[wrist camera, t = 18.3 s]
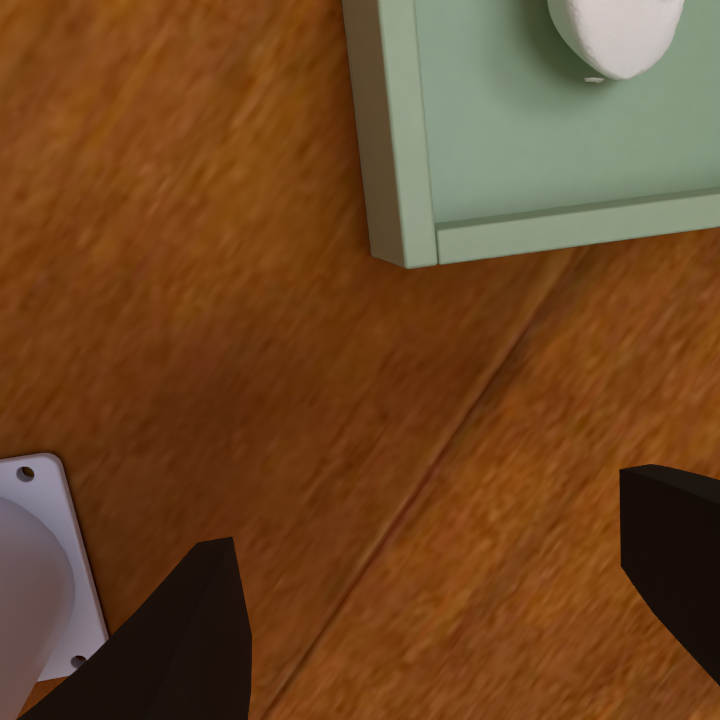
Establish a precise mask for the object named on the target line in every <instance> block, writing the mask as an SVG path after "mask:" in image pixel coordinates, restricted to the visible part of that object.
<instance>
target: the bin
mask: <svg viewBox="0 0 720 720" xmlns="http://www.w3.org/2000/svg"><path fill="white" fill-rule="evenodd" d="M342 8H343V16H344V25H345V33H346V42H347V50H348V59H349V68H350V76H351V85H352V93H353V102H354V111H355V119H356V128H357V136H358V145H359V154H360V162H361V171H362V179H363V188H364V196H365V205H366V214H367V222H368V231H369V239H370V248H371V255H372V257H376V258H379V259H382V260H384V261H387V262H390V263H392V264H395V265H398V266H400V267H403V268H406V269H414V268H422V267H429V266H435V265H436V264H440V265H445V264H452V263H459V262H467V261H474V260H482V259H489V258H496V257H504V256H511V255H518V254H526V253H533V252H540V251H548V250H555V249H562V248H570V247H577V246H584V245H592V244H599V243H606V242H614V241H621V240H628V239H636V238H643V237H650V236H658V235H665V234H672V233H680V232H687V231H694V230H702V229H709V228H717V227H720V0H685V1H684V3H683V10H682V13H681V16H680V19H679V22H678V24H677V26H676V29H675V34H674V37H673V40H672V42H671V44H670V46H669V48H668V49H667V51H666V52H665V53H664V54H663V56H662V58H661V59H660V60H659V61H658V62H657V63H655V64H654V65H653V66H652V67H651V68H650V69H649V70H648V71H646V72H645V73H643V74H641V75H639V76H636V77H634V78H631V79H630V80H627V81H616V80H613V79H610V78H607V77H605V76H603V75H602V74H600V73H599V72H598V71H596V70H595V69H594V68H592V67H591V66H590V65H589V64H587V63H586V62H585V61H584V60H582V59H581V58H580V57H579V56H578V55H577V54H576V53H575V52H574V51H573V50H572V49H571V48H570V47H569V46H568V45H567V43H566V42H565V41H564V39H563V38H562V37H561V35H560V34H559V32H558V31H557V29H556V27H555V25H554V23H553V20H552V18H551V16H550V12H549V8H548V3H547V0H342ZM584 78H601V79H604V80H603V81H601V82H599V83H596V82H586V81H585V80H586V79H584Z"/></svg>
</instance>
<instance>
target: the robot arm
mask: <svg viewBox="0 0 720 720" xmlns="http://www.w3.org/2000/svg"><path fill="white" fill-rule="evenodd" d="M22 467H29V468H31V469H32V470H33V472H34V477H28V476H26V475H25V474H24V473H23V471H22ZM619 473H620V537H621V567H622V568H623V570H624V571H625V573H626V574H627V576H628V577H629V579H630V580H631V582H632V583H633V585H634V586H635V588H636V589H637V591H638V592H639V594H640V595H641V596H642V598H643V599H644V601H645V602H646V603H647V605H648V606H649V607H650V609H651V610H652V612H653V613H654V614H655V615H656V616H657V617H658V619H659V620H660V621H661V622H662V623H663V624H664V625H665V627H666V628H667V629H668V630H669V631H670V632H671V633H672V634H673V635H674V637H675V638H676V639H677V640H678V641H679V642H680V643H681V644H682V645H683V647H684V648H685V649H686V650H687V651H688V652H689V653H690V654H691V655H692V656H693V657H694V659H695V660H696V661H697V662H698V663H699V664H700V665H701V666H702V667H703V668H704V669H705V671H706V672H707V673H708V674H709V675H710V676H711V677H712V678H713V679H714V680H715V681H716V683H717V684H718V685H719V686H720V480H717V479H713V478H710V477H706V476H702V475H699V474H695V473H691V472H687V471H683V470H679V469H675V468H670V467H665V466H660V465H653V464H648V465H642V466H637V467H631V468H625V469H619ZM77 655H80V656H83V657H85V658H86V660H79V659H77V658H76V656H77ZM251 670H252V634H251V629H250V624H249V619H248V614H247V609H246V604H245V599H244V594H243V588H242V583H241V578H240V573H239V568H238V563H237V558H236V553H235V548H234V543H233V538H232V537H227V538H221V539H215V540H210V541H204V542H198V543H197V544H196V545H195V546H194V547H193V548H192V549H191V550H190V551H189V552H188V553H187V554H186V555H185V557H184V558H183V559H182V560H181V561H180V562H179V564H178V565H177V566H176V567H175V568H174V569H173V570H172V572H171V573H170V574H169V575H168V576H167V577H166V579H165V580H164V581H163V582H162V583H161V584H160V585H159V586H158V587H157V589H156V590H155V591H154V592H153V593H152V594H151V595H150V596H149V597H148V599H147V600H146V601H145V602H144V603H143V604H142V605H141V606H140V607H139V609H138V610H137V611H136V612H135V613H134V614H133V615H132V616H131V617H130V618H129V619H128V620H127V621H126V622H125V623H124V624H123V625H122V626H121V627H120V628H119V629H118V630H117V631H116V632H115V633H114V634H113V635H112V636H111V637H110V638H109V637H108V633H107V630H106V626H105V622H104V618H103V615H102V611H101V607H100V603H99V600H98V596H97V592H96V588H95V585H94V581H93V577H92V573H91V570H90V566H89V562H88V558H87V555H86V551H85V547H84V543H83V540H82V536H81V532H80V528H79V525H78V521H77V517H76V513H75V510H74V506H73V502H72V499H71V495H70V491H69V487H68V484H67V480H66V476H65V472H64V469H63V465H62V463H61V461H60V459H59V458H58V457H56V456H55V455H53V454H50V453H38V454H32V455H25V456H19V457H12V458H6V459H0V720H16V718H17V716H18V715H19V713H20V711H21V709H22V707H23V706H24V704H25V702H26V700H27V698H28V696H29V695H30V693H31V691H32V689H33V687H34V685H35V684H36V682H39V681H44V680H49V679H55V678H60V677H65V676H69V677H68V678H67V679H66V680H64V681H63V682H62V683H61V684H60V685H58V686H57V687H56V688H55V689H54V690H53V691H51V692H50V693H49V694H48V695H47V696H45V697H44V698H43V699H42V700H41V701H39V702H38V703H37V704H36V705H35V706H33V707H32V708H31V709H30V710H28V711H27V712H26V713H25V714H23V715H22V716H21V717H20V718H18V719H17V720H247V719H248V712H249V704H250V696H251Z"/></svg>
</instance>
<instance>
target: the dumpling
mask: <svg viewBox="0 0 720 720" xmlns="http://www.w3.org/2000/svg"><path fill="white" fill-rule="evenodd" d="M684 1H685V0H547V3H548V8H549V12H550V16H551V18H552V20H553V23H554V25H555V27H556V29H557V31H558V32H559V34H560V35H561V37H562V38H563V39H564V41H565V42H566V43H567V45H568V46H569V47H570V48H571V49H572V50H573V51H574V52H575V53H576V54H577V55H578V56H579V57H580V58H581V59H582V60H584V61H585V62H586V63H587V64H589V65H590V66H591V67H592V68H594V69H595V70H596V71H598V72H599V73H600V74H602V75H603V76H605V77H607V78H610V79H613V80H616V81H627V80H630V79H631V78H634V77H636V76H639V75H641V74H643V73H645V72H646V71H648V70H649V69H650V68H651V67H652V66H653V65H654V64H655V63H657V62H658V61H659V60H660V59H661V58H662V56H663V54H664V53H665V52H666V51H667V49H668V48H669V46H670V44H671V42H672V40H673V37H674V34H675V29H676V26H677V24H678V22H679V19H680V16H681V13H682V10H683V3H684ZM584 79H586V80H585V81H586V82H596V83H599V82H601V81H603V80H604V79H601V78H584Z"/></svg>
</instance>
